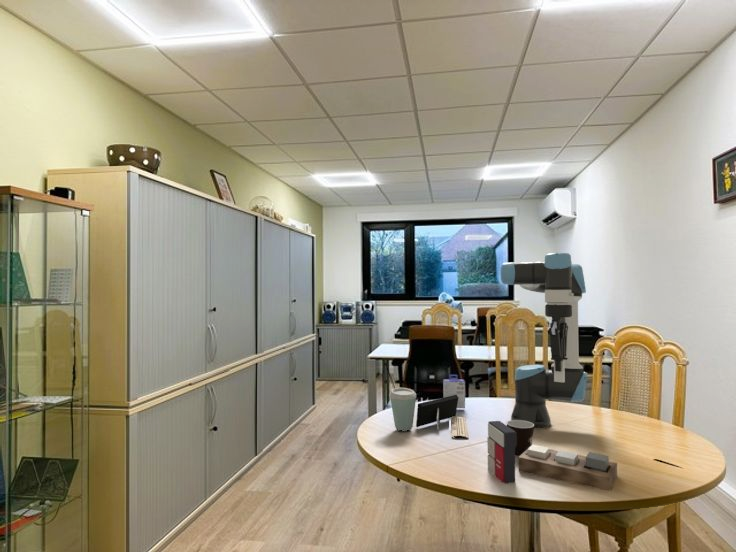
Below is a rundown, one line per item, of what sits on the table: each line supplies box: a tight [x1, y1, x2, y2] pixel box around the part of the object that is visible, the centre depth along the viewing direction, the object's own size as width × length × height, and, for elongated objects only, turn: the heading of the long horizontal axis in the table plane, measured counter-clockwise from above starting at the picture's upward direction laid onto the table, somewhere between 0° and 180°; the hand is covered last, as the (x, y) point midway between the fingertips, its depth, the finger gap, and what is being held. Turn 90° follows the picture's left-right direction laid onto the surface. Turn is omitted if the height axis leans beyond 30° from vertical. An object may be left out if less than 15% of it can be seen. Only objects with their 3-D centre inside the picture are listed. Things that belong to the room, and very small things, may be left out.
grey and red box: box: [486, 420, 517, 484], centre depth 130 cm, size 11×4×15 cm, turn 9°
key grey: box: [555, 449, 579, 466], centre depth 130 cm, size 5×5×5 cm
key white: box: [527, 444, 550, 459], centre depth 135 cm, size 5×5×5 cm
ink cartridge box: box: [442, 374, 466, 409], centre depth 205 cm, size 10×6×14 cm, turn 83°
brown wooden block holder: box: [518, 444, 618, 492], centre depth 130 cm, size 24×12×5 cm, turn 53°
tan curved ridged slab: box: [450, 416, 469, 440], centre depth 175 cm, size 24×7×2 cm, turn 170°
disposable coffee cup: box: [388, 387, 417, 432], centre depth 175 cm, size 11×11×15 cm
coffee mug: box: [506, 419, 535, 457], centre depth 149 cm, size 12×9×10 cm
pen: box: [652, 458, 683, 469], centre depth 135 cm, size 2×14×2 cm, turn 27°
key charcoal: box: [585, 451, 610, 473], centre depth 125 cm, size 5×5×5 cm
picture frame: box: [415, 395, 459, 431], centre depth 183 cm, size 22×10×10 cm
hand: (559, 381), depth 136 cm, fingers closed
